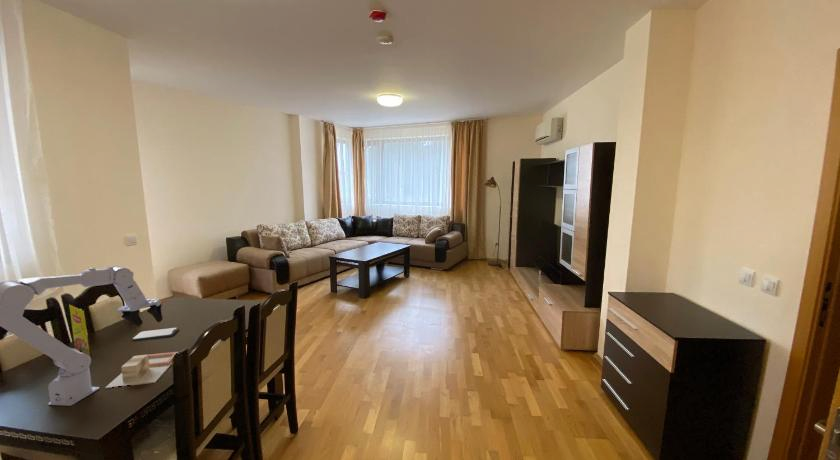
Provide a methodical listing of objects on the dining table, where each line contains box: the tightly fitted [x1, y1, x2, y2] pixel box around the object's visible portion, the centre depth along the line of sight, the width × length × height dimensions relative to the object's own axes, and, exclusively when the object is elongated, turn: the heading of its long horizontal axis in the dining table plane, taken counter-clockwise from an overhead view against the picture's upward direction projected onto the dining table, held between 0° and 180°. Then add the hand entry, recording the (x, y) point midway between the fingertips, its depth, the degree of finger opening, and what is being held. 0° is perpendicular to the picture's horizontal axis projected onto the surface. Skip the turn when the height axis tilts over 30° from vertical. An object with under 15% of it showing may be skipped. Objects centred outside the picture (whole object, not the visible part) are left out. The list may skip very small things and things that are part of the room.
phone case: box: [131, 327, 179, 342], centre depth 157 cm, size 9×2×16 cm
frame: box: [147, 351, 179, 367], centre depth 133 cm, size 12×8×1 cm
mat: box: [105, 356, 173, 389], centre depth 128 cm, size 21×15×1 cm
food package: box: [68, 304, 91, 357], centre depth 139 cm, size 15×1×20 cm, turn 62°
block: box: [120, 354, 149, 382], centre depth 123 cm, size 8×4×6 cm, turn 15°
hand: (150, 322), depth 130 cm, fingers open, 7 cm apart
